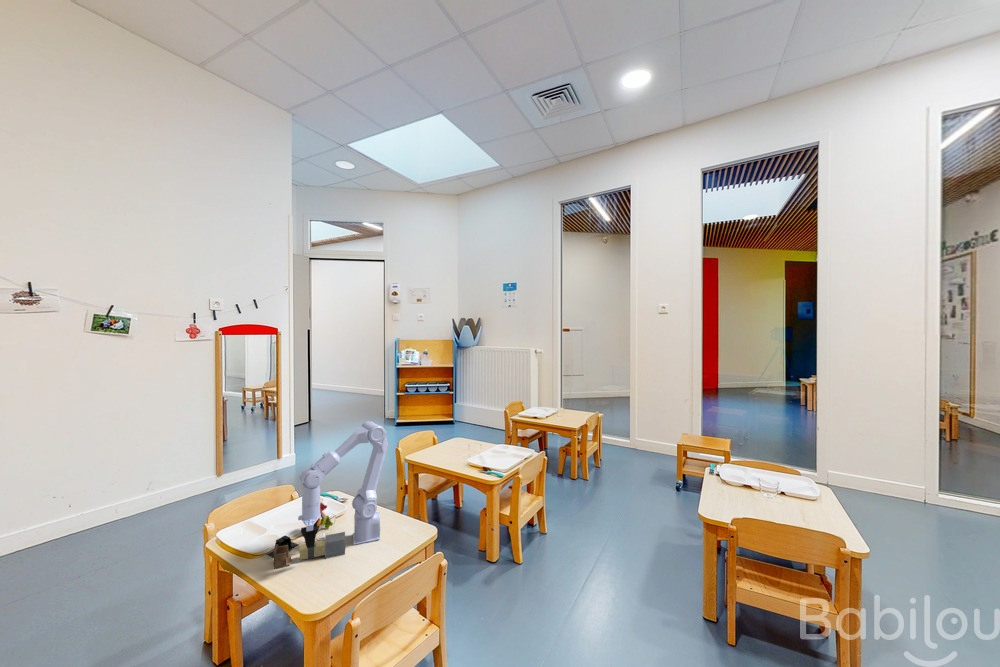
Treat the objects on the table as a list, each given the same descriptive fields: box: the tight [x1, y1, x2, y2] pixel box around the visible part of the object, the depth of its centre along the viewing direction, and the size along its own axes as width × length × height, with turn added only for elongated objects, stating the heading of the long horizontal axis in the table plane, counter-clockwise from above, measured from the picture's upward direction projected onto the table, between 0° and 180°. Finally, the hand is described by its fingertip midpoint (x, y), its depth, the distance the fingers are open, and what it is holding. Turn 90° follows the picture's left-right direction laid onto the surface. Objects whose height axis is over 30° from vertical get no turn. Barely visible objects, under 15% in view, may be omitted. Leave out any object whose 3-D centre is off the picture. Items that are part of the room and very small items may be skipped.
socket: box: [273, 544, 292, 570], centre depth 131 cm, size 5×5×6 cm
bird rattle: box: [317, 502, 334, 531], centre depth 152 cm, size 6×11×9 cm
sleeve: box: [324, 531, 346, 559], centre depth 138 cm, size 6×5×6 cm
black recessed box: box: [265, 534, 300, 559], centre depth 139 cm, size 12×7×5 cm, turn 155°
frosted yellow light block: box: [299, 539, 325, 561], centre depth 136 cm, size 14×4×4 cm, turn 113°
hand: (311, 540), depth 134 cm, fingers open, 7 cm apart
